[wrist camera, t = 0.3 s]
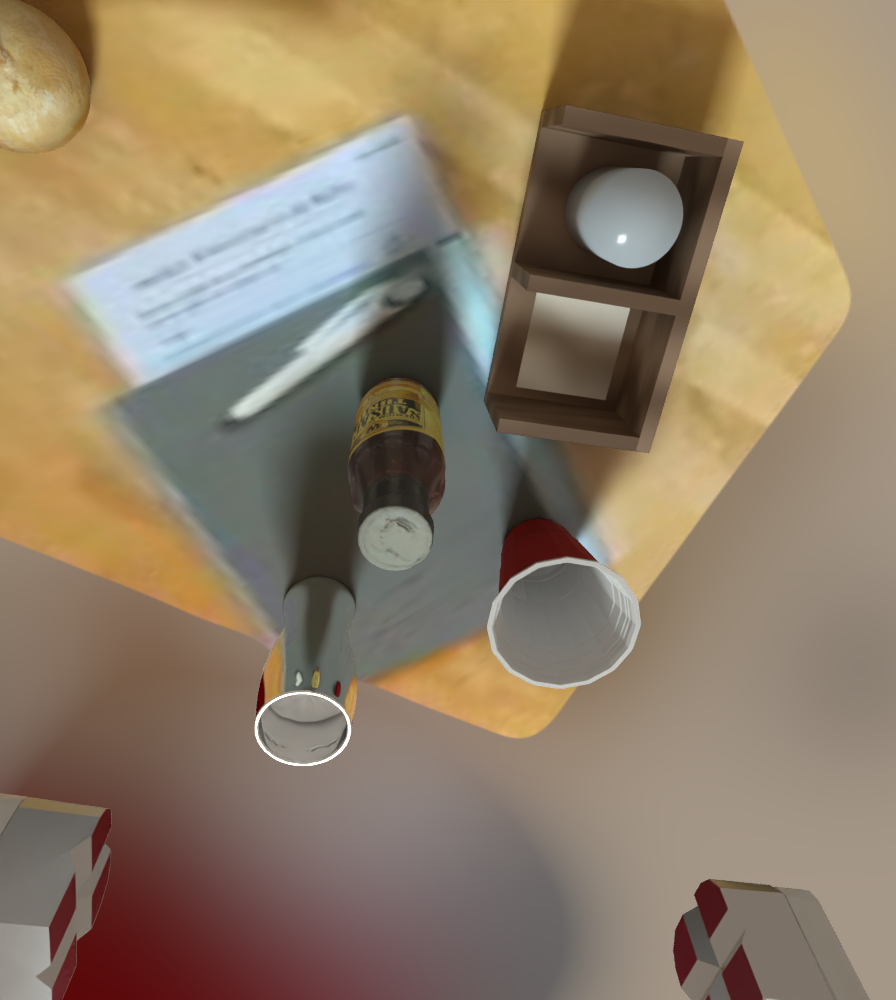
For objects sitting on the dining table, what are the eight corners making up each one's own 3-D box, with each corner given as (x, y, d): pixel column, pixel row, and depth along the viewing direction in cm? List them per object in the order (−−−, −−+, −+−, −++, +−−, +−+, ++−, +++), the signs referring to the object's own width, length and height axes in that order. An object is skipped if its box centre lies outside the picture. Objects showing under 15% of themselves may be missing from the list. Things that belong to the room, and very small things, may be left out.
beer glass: (271, 576, 62) (240, 695, 48) (354, 566, 62) (347, 682, 48) (286, 644, 65) (261, 774, 51) (365, 635, 65) (361, 762, 51)
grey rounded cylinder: (575, 159, 49) (604, 160, 43) (655, 175, 50) (695, 177, 44) (556, 246, 51) (581, 259, 45) (632, 260, 52) (667, 275, 46)
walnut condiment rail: (541, 111, 49) (566, 104, 42) (698, 143, 50) (743, 141, 44) (484, 401, 57) (496, 432, 50) (620, 420, 58) (649, 453, 52)
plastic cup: (500, 471, 59) (527, 542, 49) (618, 511, 62) (668, 588, 51) (450, 581, 63) (464, 669, 53) (562, 615, 66) (598, 706, 55)
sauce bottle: (415, 358, 55) (433, 458, 37) (452, 429, 58) (484, 554, 40) (338, 397, 56) (318, 513, 38) (377, 465, 58) (376, 604, 40)
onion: (123, 58, 46) (81, 42, 39) (77, 178, 48) (31, 182, 42) (-10, -25, 43) (-78, -56, 37) (-51, 106, 46) (-121, 98, 40)
